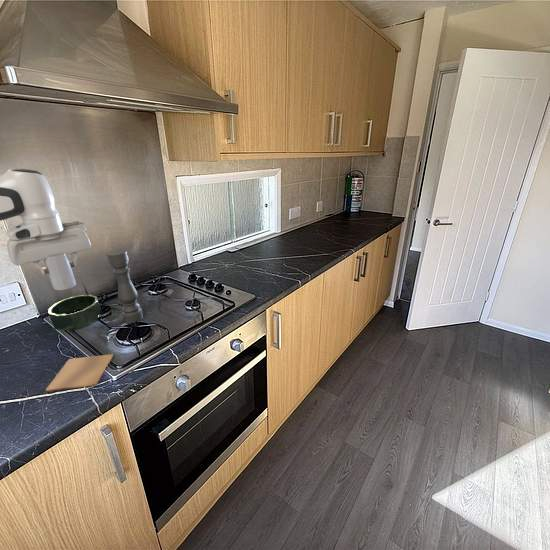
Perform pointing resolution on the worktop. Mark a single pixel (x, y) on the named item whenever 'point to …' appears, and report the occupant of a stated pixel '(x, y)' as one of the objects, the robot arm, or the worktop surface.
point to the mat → (80, 372)
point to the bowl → (77, 318)
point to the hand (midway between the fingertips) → (59, 269)
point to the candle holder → (125, 286)
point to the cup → (60, 272)
